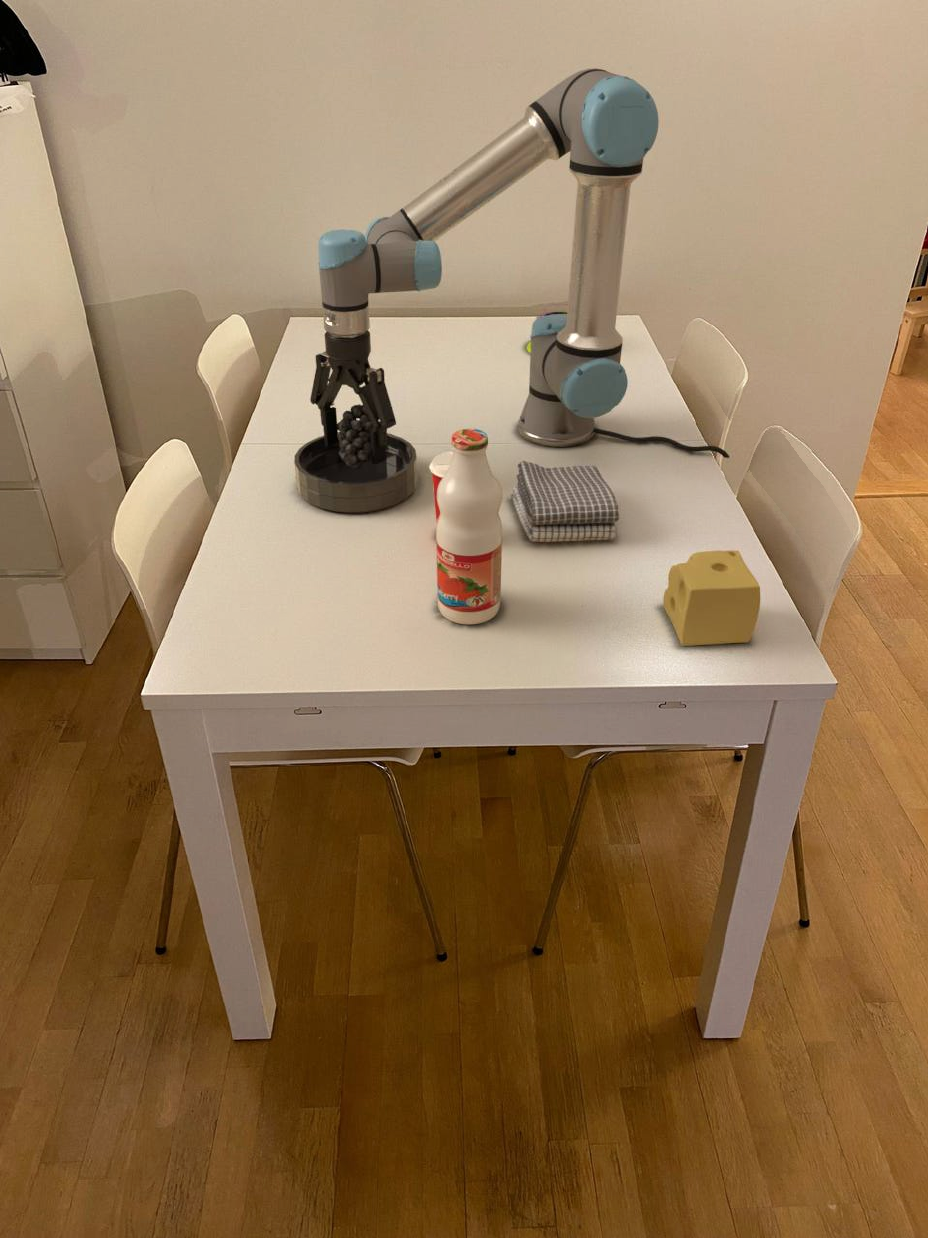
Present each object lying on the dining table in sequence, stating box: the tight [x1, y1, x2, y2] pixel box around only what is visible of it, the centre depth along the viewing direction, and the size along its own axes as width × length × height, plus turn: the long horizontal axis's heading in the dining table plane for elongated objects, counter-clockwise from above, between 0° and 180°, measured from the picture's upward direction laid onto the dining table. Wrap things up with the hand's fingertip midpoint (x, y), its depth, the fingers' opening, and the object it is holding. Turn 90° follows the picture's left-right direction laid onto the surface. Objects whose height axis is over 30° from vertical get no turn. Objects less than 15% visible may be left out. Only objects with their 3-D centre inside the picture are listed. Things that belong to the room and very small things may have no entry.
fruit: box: [337, 403, 380, 470], centre depth 175 cm, size 9×8×15 cm
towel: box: [510, 460, 620, 543], centre depth 168 cm, size 15×18×8 cm
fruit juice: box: [435, 428, 503, 625], centre depth 141 cm, size 9×9×28 cm
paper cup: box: [428, 450, 454, 524], centre depth 162 cm, size 8×8×14 cm
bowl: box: [294, 431, 418, 514], centre depth 179 cm, size 22×22×6 cm
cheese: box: [662, 550, 761, 647], centre depth 142 cm, size 10×11×10 cm
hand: (354, 452), depth 177 cm, fingers closed on fruit, 11 cm apart
